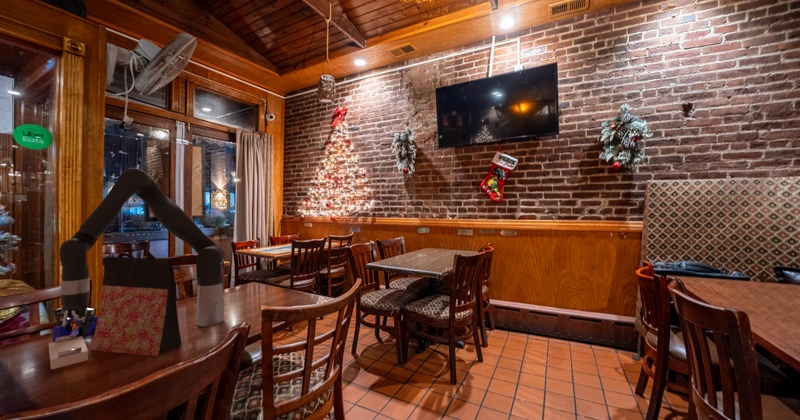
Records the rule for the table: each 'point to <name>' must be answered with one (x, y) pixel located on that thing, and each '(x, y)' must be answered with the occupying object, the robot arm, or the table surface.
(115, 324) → the gift bag
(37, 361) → the table surface
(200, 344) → the table surface
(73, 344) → the white slotted block
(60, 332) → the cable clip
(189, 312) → the table surface
